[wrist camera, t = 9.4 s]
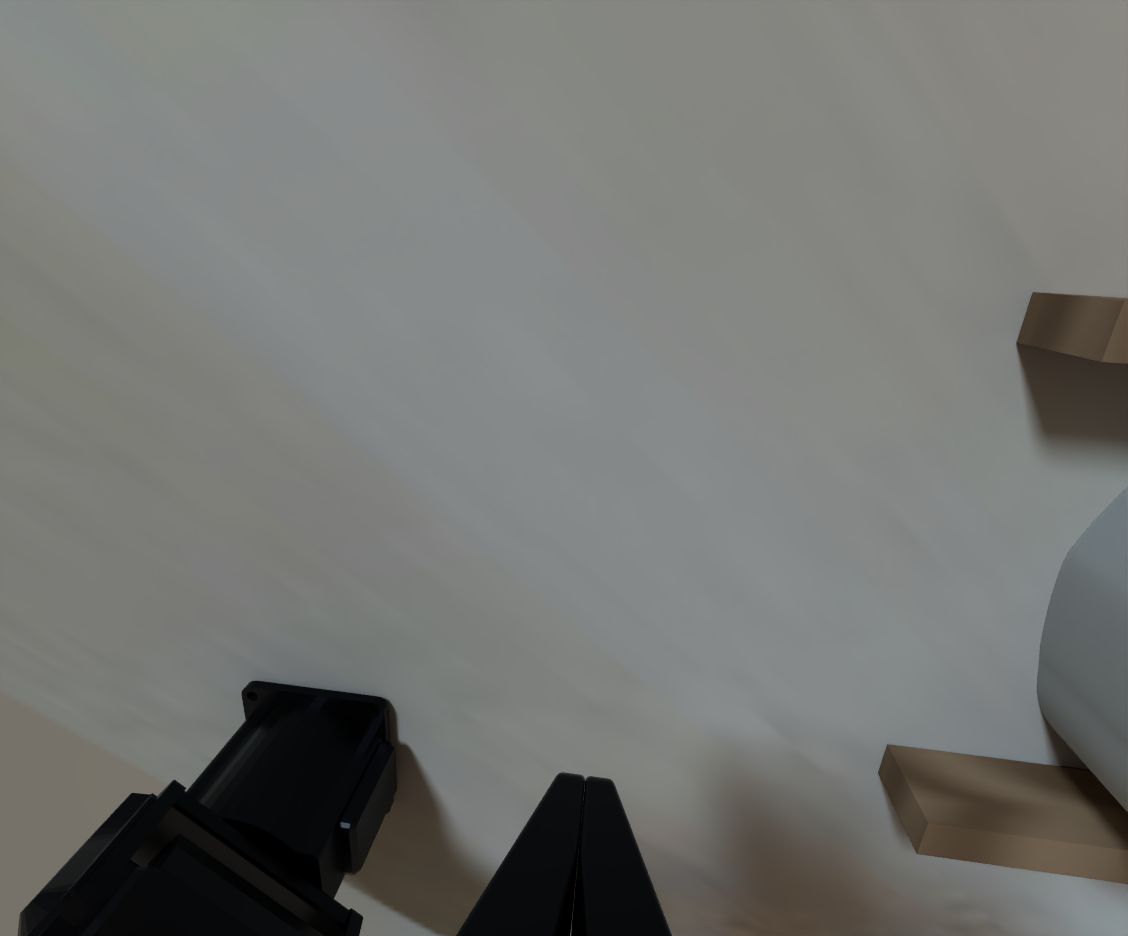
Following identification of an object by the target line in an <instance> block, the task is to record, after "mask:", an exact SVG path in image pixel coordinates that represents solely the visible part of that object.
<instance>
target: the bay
mask: <svg viewBox="0 0 1128 936" xmlns="http://www.w3.org/2000/svg"><path fill="white" fill-rule="evenodd" d="M1017 343H1020V344H1024V345H1029V346H1033V347H1037V348H1042V349H1046V350H1051V351H1055V352H1060V353H1064V354H1069V355H1073V356H1077V357H1082V358H1086V359H1091V360H1095V361H1100V362H1110V363H1124V364H1128V298H1115V297H1099V296H1083V295H1068V294H1052V293H1037V292H1033V294H1032V297H1031V300H1030V303H1029V306H1028V309H1027V312H1026V316H1025V319H1024V322H1023V325H1022V328H1021V331H1020V334H1019V337H1018V340H1017ZM878 773H879V775H880V777H881V779H882V782H883V784H884V786H885V788H886V790H887V792H888V794H889V796H890V798H891V801H892V803H893V805H894V807H895V809H896V811H897V813H898V815H899V817H900V819H901V822H902V824H903V826H904V828H905V830H906V832H907V834H908V836H909V838H910V841H911V843H912V845H913V847H914V849H915V851H916V853H917V854H921V855H928V856H935V857H942V858H950V859H957V860H964V861H971V862H978V863H985V864H992V865H999V866H1006V867H1013V868H1020V869H1027V870H1034V871H1041V872H1048V873H1055V874H1062V875H1069V876H1076V877H1083V878H1090V879H1097V880H1104V881H1111V882H1118V883H1125V884H1128V812H1127V811H1126V810H1125V809H1124V808H1123V807H1122V805H1121V804H1120V803H1119V802H1118V801H1117V800H1116V799H1115V798H1114V796H1113V795H1112V794H1111V793H1110V792H1109V791H1108V790H1107V789H1106V787H1105V786H1104V785H1103V784H1102V783H1101V782H1100V781H1099V780H1098V778H1097V777H1096V776H1095V775H1094V774H1093V773H1092V772H1091V771H1090V770H1082V769H1075V768H1067V767H1059V766H1051V765H1043V764H1036V763H1028V762H1020V761H1012V760H1004V759H996V758H989V757H981V756H973V755H965V754H957V753H950V752H942V751H934V750H926V749H918V748H910V747H903V746H895V745H887V747H886V751H885V754H884V757H883V760H882V763H881V766H880V769H879V772H878Z"/></svg>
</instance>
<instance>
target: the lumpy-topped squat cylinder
mask: <svg viewBox="0 0 1128 936" xmlns="http://www.w3.org/2000/svg"><path fill="white" fill-rule="evenodd" d="M1037 696H1038V702H1039V706H1040V709H1041V711H1042V714H1043V715H1044V717H1045V719H1046V720H1047V722H1048V723H1049V724H1050V726H1051V727H1052V728H1053V729H1054V730H1055V731H1056V732H1057V733H1058V735H1059V736H1060V737H1061V738H1062V739H1063V740H1064V741H1065V742H1066V744H1067V745H1068V746H1069V747H1070V748H1071V749H1072V750H1073V751H1074V753H1075V754H1076V755H1077V756H1078V757H1079V758H1080V759H1081V760H1082V762H1083V763H1084V764H1085V765H1086V766H1087V767H1088V768H1089V769H1090V771H1091V772H1092V773H1093V774H1094V775H1095V776H1096V777H1097V778H1098V780H1099V781H1100V782H1101V783H1102V784H1103V785H1104V786H1105V787H1106V789H1107V790H1108V791H1109V792H1110V793H1111V794H1112V795H1113V796H1114V798H1115V799H1116V800H1117V801H1118V802H1119V803H1120V804H1121V805H1122V807H1123V808H1124V809H1125V810H1126V811H1127V812H1128V487H1127V488H1126V489H1125V490H1124V491H1123V492H1122V493H1121V494H1120V495H1119V496H1118V497H1117V498H1116V499H1115V500H1114V501H1113V502H1112V503H1111V504H1110V505H1109V506H1108V507H1107V508H1106V509H1105V510H1104V511H1103V512H1102V513H1101V514H1100V515H1099V516H1098V517H1097V518H1096V520H1095V521H1094V522H1093V523H1092V524H1091V525H1090V526H1089V527H1088V528H1087V530H1086V531H1085V532H1084V533H1083V534H1082V535H1081V537H1080V538H1079V539H1078V540H1077V541H1076V543H1075V544H1074V545H1073V546H1072V548H1071V549H1070V551H1069V552H1068V554H1067V555H1066V557H1065V559H1064V561H1063V564H1062V566H1061V569H1060V571H1059V574H1058V577H1057V580H1056V582H1055V586H1054V589H1053V592H1052V596H1051V599H1050V603H1049V606H1048V610H1047V614H1046V619H1045V623H1044V628H1043V633H1042V638H1041V644H1040V655H1039V668H1038V676H1037Z"/></svg>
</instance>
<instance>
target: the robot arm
mask: <svg viewBox="0 0 1128 936" xmlns="http://www.w3.org/2000/svg"><path fill="white" fill-rule="evenodd" d="M254 692H255V693H254ZM242 700H243V706H244V712H245V718H246V721H245V722H244V723H243V724H242V726H241V727H240V728H239V729H238V730H237V732H236V733H235V734H234V735H233V736H232V738H231V739H230V740H229V741H228V742H227V744H226V745H225V746H224V747H223V748H222V749H221V751H220V752H219V753H218V754H217V755H216V757H215V758H214V759H213V760H212V761H211V763H210V764H209V765H208V766H207V767H206V769H205V770H204V771H203V772H202V773H201V775H200V776H199V777H198V778H197V779H196V781H195V782H194V783H193V784H192V785H191V787H190V788H189V789H188V790H187V791H186V792H185V789H186V788H185V787H184V786H183V785H181V784H180V783H178V782H177V781H176V780H173V781H172V782H171V783H170V784H169V785H168V786H167V787H166V788H165V789H164V790H163V791H162V792H161V793H160V794H159V795H158V796H156V795H154V794H153V793H152V794H151V795H148V794H138V793H131V794H130V795H129V796H128V798H126V799H125V801H124V802H123V803H122V804H121V805H120V806H119V807H118V808H117V809H116V810H115V811H114V812H113V813H112V814H111V816H110V817H109V818H108V819H107V820H106V821H105V822H104V823H103V824H102V825H101V826H100V827H99V828H98V829H97V830H96V831H95V833H94V834H93V835H92V836H91V837H90V838H89V839H88V840H87V841H86V842H85V843H84V844H83V845H82V847H81V848H80V849H79V850H78V851H77V852H76V853H75V854H74V855H73V856H72V857H71V858H70V859H69V861H68V862H67V863H66V864H65V865H64V866H63V867H62V868H61V869H60V870H59V872H58V873H57V874H56V875H55V876H54V877H53V878H52V879H51V880H50V881H49V882H48V883H47V885H46V886H45V887H44V888H43V889H42V890H41V891H40V892H39V893H38V894H37V895H36V897H35V898H34V899H33V900H32V901H31V902H30V903H29V904H28V905H27V906H26V907H25V908H24V910H23V911H22V912H21V913H20V918H19V928H18V936H359V934H360V929H361V925H362V921H363V916H362V915H360V914H359V913H357V912H356V911H355V910H353V909H349V910H348V909H347V908H345V907H344V906H343V905H341V904H340V903H339V902H337V901H336V900H334V897H335V895H336V893H337V891H338V889H339V887H340V885H341V882H342V880H343V878H344V876H345V874H348V875H355V874H356V873H357V872H359V871H360V870H361V868H362V866H363V864H364V862H365V859H366V857H367V855H368V853H369V850H370V848H371V846H372V844H373V841H374V839H375V837H376V835H377V832H378V830H379V828H380V826H381V823H382V821H383V819H384V817H385V814H387V813H388V812H389V811H390V809H391V807H392V804H393V801H394V800H393V796H394V794H395V792H396V789H397V775H396V756H395V747H394V745H393V743H392V742H390V728H389V710H388V704H387V702H386V701H385V700H384V699H382V698H380V697H377V696H369V695H362V694H354V693H346V692H339V691H331V690H323V689H316V688H308V687H300V686H293V685H285V684H277V683H270V682H262V681H251V682H249V683H248V685H247V686H246V687H245V688H244V689H243V691H242ZM374 708H376V709H377V710H375V709H374ZM584 786H585V789H584ZM583 797H584V800H583ZM582 808H583V810H582ZM581 819H582V821H581ZM580 830H581V832H580ZM579 841H580V842H579ZM578 851H579V853H578ZM577 862H578V864H577ZM576 872H577V875H576ZM575 883H576V885H575ZM574 893H575V896H574ZM573 903H574V907H573ZM572 914H573V918H572ZM571 924H572V930H571ZM570 933H571V936H672V935H671V932H670V929H669V927H668V924H667V921H666V919H665V916H664V914H663V911H662V908H661V906H660V903H659V900H658V898H657V895H656V892H655V890H654V887H653V885H652V882H651V879H650V877H649V874H648V871H647V869H646V866H645V863H644V861H643V858H642V856H641V853H640V850H639V848H638V845H637V842H636V840H635V837H634V834H633V832H632V829H631V827H630V824H629V821H628V819H627V816H626V813H625V811H624V808H623V805H622V803H621V800H620V798H619V795H618V792H617V790H616V787H615V785H614V783H613V781H612V780H611V779H607V778H600V777H593V776H589V777H587V778H586V781H585V779H584V777H583V776H582V775H578V774H571V773H564V772H562V773H559V774H558V775H557V776H556V777H555V779H554V781H553V782H552V784H551V785H550V787H549V789H548V790H547V792H546V793H545V795H544V797H543V798H542V800H541V801H540V803H539V805H538V806H537V808H536V809H535V811H534V812H533V814H532V816H531V817H530V819H529V820H528V822H527V824H526V825H525V827H524V828H523V830H522V832H521V833H520V835H519V836H518V838H517V840H516V841H515V843H514V844H513V846H512V848H511V849H510V851H509V852H508V854H507V856H506V857H505V859H504V860H503V862H502V864H501V865H500V867H499V868H498V870H497V871H496V873H495V875H494V876H493V878H492V879H491V881H490V883H489V884H488V886H487V887H486V889H485V891H484V892H483V894H482V895H481V897H480V899H479V900H478V902H477V903H476V905H475V907H474V908H473V910H472V911H471V913H470V915H469V916H468V918H467V919H466V921H465V922H464V924H463V926H462V927H461V929H460V930H459V932H458V934H457V935H456V936H570Z"/></svg>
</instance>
